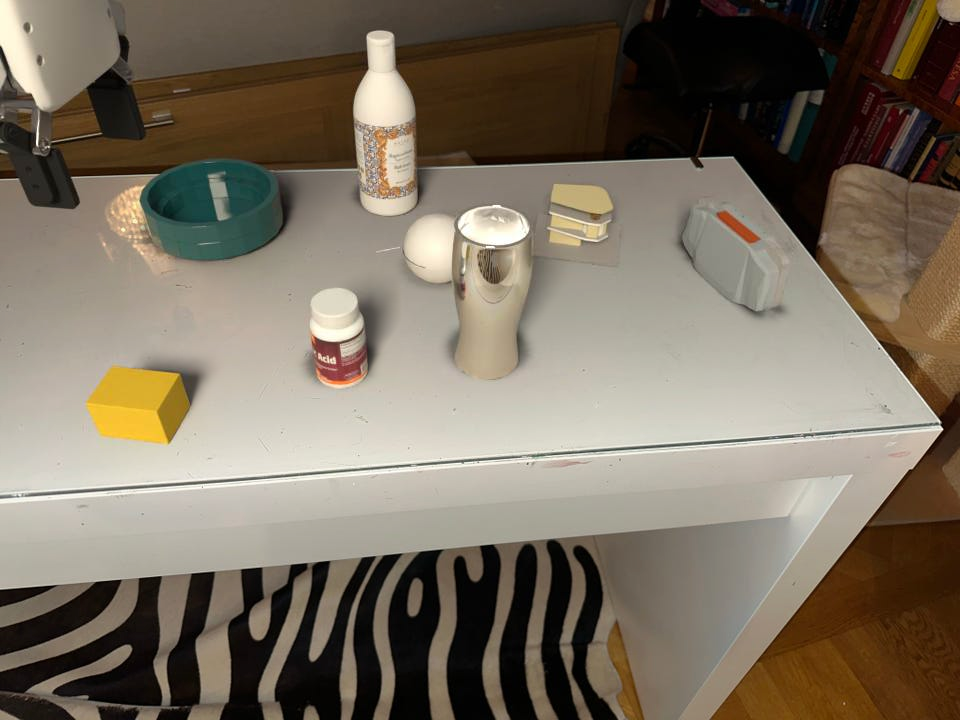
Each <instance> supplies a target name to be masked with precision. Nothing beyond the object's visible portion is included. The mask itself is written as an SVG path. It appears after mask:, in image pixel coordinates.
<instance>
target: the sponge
mask: <svg viewBox="0 0 960 720" xmlns="http://www.w3.org/2000/svg"><path fill="white" fill-rule="evenodd" d="M85 406H86V408H87V410H88V413H89V415H90V417H91V419H92V421H93V423H94V425H95V428H96V429H97V432H98V434H99V436H100V437H106V438H114V439H123V440H131V441H137V442H147V443H155V444H156V443H157V444H164V445H169V444H170V443H171V441H172V439H173V437H174V436H175V434H176V433H177V431H178V429H179V426H180V425H181V424H182V421H183V420H184V418H185V416H186V415H187V412H188V411H189V409H190V407H191V404H190V401H189V399H188V395H187V392H186V389H185V386H184V383H183V379H182V377H181V373H178V372H171V371H161V370H160V371H159V370H151V369H144V368H133V367H124V366H116V365H112V366H110V368H109V369H108V370H107V372H106V373H105V375H104V376H103V377H102V379H101V380H100V382H99V383H98V384H97V386H96V388H95V389H94V390H93V391H92V393H91V394H90V395H89V397H88V399H87V400H86V401H85Z"/></svg>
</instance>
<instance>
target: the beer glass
mask: <svg viewBox="0 0 960 720" xmlns="http://www.w3.org/2000/svg"><path fill="white" fill-rule="evenodd" d="M455 218H456V219H455V221H454V234H453V243H452V254H451V279H452V281H451V287H452V294H453V299H454V303H455V308H456V313H457V317H458V324H459V326H458V327H459V334H458V339H457V344H456V347H455V351H454V361H455V364H456V366H457V368H458V369H459V370H460V371H461V372H462V373H464V374H465V375H467V376H469V377H471V378H474V379H477V380H483V381H494V380H498V379H501V378H504V377H507V376H508V375H510V374H511V373H513V371H514V370H516V368H517V366H518V363H519V348H518V342H517V331H518V326H519V323H520V319H521V317H522V314H523V309H524V307H525V305H526V304H525V303H526V302H527V301H526V300H527V297H528V293H529V289H530V286H531V280H532V274H533V273H532V272H533V261H534V256H533V236H534V229H535V228H534V223H533V220H532V218H531V217H530V216H529V215H528V214H526V213H525V212H524V211H522V210H521V209H519V208H516V207H514V206H511V205H507V204H501V203H481V204H476V205H472V206H469V207H467V208H465V209H463V210H462V211H460V213H458V214H457V215H456V217H455Z"/></svg>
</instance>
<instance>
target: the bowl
mask: <svg viewBox="0 0 960 720" xmlns="http://www.w3.org/2000/svg"><path fill="white" fill-rule="evenodd" d="M139 204H140V207H141V211H142V215H143V217H144V221H145V224H146V226H147V227H146V228H147V230H148V233H149V236H150V238H151V241H152V243H153V245H155V246H156V247H157V248H159V249H160V250H161V251H163V252H164V253H166V254H169V255H172V256H175V257H178V258H181V259H186V260H187V259H188V260H193V261H203V262H205V261H207V262H208V261H209V262H211V261H221V260H222V261H223V260H229V259H234V258H237V257H240V256H243V255H246V254H248V253H250V252H252V251H255V250H257V249H258V248H260V247H262V246H264V245H265V244H267V243H268V242H269V241H270V240H271V239H273V238H274V237H275V236H276V235H278V233H279V231H280V230H281V228H282V226H283V224H284V211H283V205H282V198H281V193H280V186H279V181H278V179H277V178H276V176H275V175H274V173H273V171H271V170H269V169H268V168H266V167H265V166H263V165H260V164H258V163H255V162H251V161H248V160H243V159H236V158H235V159H234V158H226V157H225V158H207V159H201V160H195V161H190V162H185V163H182V164H179V165H177V166H174V167H171V168H169V169H165V170H164V171H163V172H161V173H159V174H157V175H156V176H154V177H153V178H150V180H149V181H148V183H147V184H145V186H144V187H143V188H142V189H141V192H140V196H139Z"/></svg>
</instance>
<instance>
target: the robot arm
mask: <svg viewBox="0 0 960 720" xmlns="http://www.w3.org/2000/svg"><path fill="white" fill-rule="evenodd" d="M126 35H127V33H126V13H125V8H124V5H123V4H122V3H120V2H119V1H116V0H0V154H7V155H8V158H9V160H10V162H11V164H12V167H13V169H14V172H15V174H16V176H17V179H18V180H19V183H20V186H21V187H22V190H23V191H24V192H23V193H24V194H25V196H26V198H27V201H28V203H29V204H30V205H32V206H34V207H39V208H49V209H65V210H75V209H76V208H77V207H78V206H79V205H80V204H81V200H80V197H79V194H78V191H77V189H76V186H75V184H74V181H73V178H72V175H71V173H70V171H69V168H68V164H67V163H66V160H65V158H64V155H63V153H62V151H61V148H59V147H58V148H57V147H52V137H53V136H52V134H53V119H54V117H53V115H54V112H55V111H57V110H60V108H62V107H64V106H65V105H66V104H68V103H69V102H70V101H71V100H72V99H74V98H75V97H76V96H77V95H79V94H80V93H82V92H83V91H84V90H85V89H86V92H87V95H88V97H89V100H90V103H91V106H92V109H93V112H94V115H95V118H96V121H97V123H98V127H99V129H100V133H101V135H102V136H103V137H104V138H106V139H113V140H130V141H143V140H144V139H145V138H146V137H147V130H146V127H145V124H144V121H143V117H142V114H141V110H140V107H139V103H138V101H137V98H136V97H137V96H136V94H135V90H134V87H133V85H132V84H131V83H132V81H133V80H134V72H133V68H132V67H131V66H130V65H129V64H128V63H129V62H128V61H129V53H130V47H131V46H130V41H129V39H128V38H127V36H126ZM20 93H26V94H31V95H32V97H33V98H24V97H18V95H19V94H20ZM19 113H20V114H21V113H22V114H31V115H30V116H31V117H30V131H29V130H28V129H26V128H24V127H21V126H20V125H19Z"/></svg>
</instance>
